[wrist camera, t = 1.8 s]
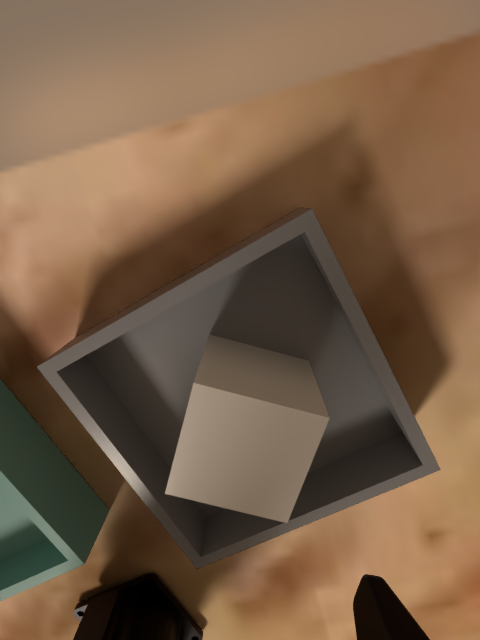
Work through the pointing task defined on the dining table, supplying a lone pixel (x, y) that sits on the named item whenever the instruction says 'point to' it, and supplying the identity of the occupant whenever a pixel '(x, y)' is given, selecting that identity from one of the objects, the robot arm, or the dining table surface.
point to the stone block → (248, 430)
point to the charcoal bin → (260, 331)
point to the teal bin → (40, 504)
